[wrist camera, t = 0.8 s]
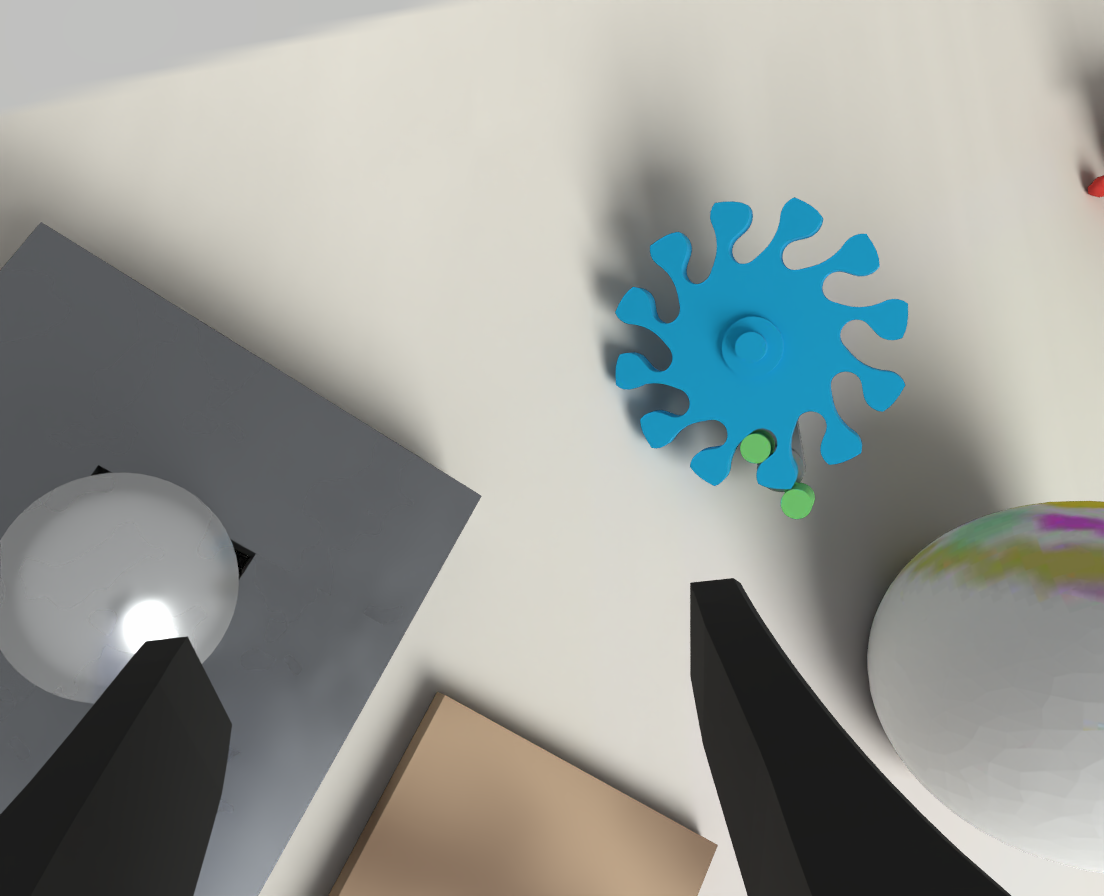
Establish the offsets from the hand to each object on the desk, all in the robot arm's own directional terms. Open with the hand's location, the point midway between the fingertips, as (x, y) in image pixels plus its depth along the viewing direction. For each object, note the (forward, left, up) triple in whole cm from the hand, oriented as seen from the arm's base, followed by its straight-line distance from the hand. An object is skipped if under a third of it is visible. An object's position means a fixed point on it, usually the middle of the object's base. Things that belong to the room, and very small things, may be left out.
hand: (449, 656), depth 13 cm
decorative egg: (+10, -23, -16) cm, 30 cm away
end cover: (-2, +5, -16) cm, 17 cm away
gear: (+15, -8, -16) cm, 23 cm away
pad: (-6, -10, -16) cm, 19 cm away
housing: (-2, +5, -16) cm, 17 cm away
